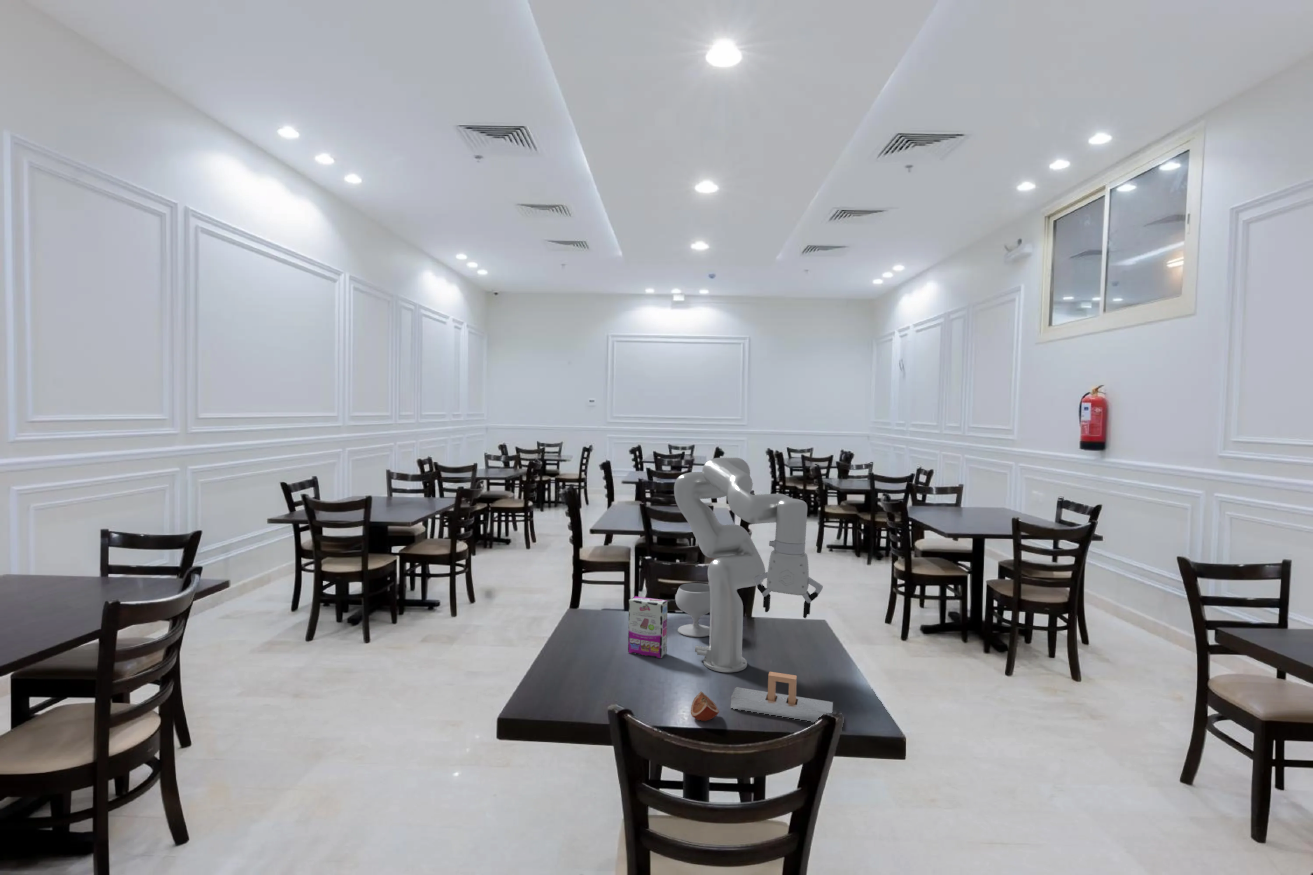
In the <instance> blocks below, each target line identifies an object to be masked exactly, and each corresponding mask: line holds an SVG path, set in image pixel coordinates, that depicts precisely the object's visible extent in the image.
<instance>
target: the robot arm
mask: <svg viewBox="0 0 1313 875" xmlns="http://www.w3.org/2000/svg"><path fill="white" fill-rule="evenodd" d="M753 484H754V483H753V479H752V478H751V468H750V466H749V464H748V463H747V461H745V459H743V458H740V457H714V458H711V459H709V460H708V461H706V462H705V463H704V465H703V466H702V470H701V471H691V472H686V473H683V474H681V475H679V476H678V477H676V479H675V482H674V484H673V485H674V486H673V494H674V498H675V499H674V500H675V503H676V505H677V507H678V509H679V510H680V513H681V514H682V515H683V517H684V518H685V520H686V521H687V523H688V524H689V526H690V529H691V531H692V533H693V536H694V537H695V541H696V543H697V544H698V547H699V549H700V550H701V553H702V554H703V555H704V556H705V557H707V558H711V559H712V561H711V562H710V563H709V565H708V567H707V579H708V585H709V587H710V612H709V627H710V635H709V640H708V642H709V644H708V645H706V646H701V645H695V647H694V652H695V653H696V656H704V657H703V665H704V666H705V667H706V668H708V669H709V670H712V671H715V672H720V673H737V672H742V671H744V670H745V669H746V668H747V666H748V662H747V661H748V660H747V659H745V657H743V627H744V626H743V625H744V624H743V623H744V622H743V620H744V605H743V600H742V598H741V597H740V595H739V593H738V590H740V589H743V588H749V587H750V588H751V587H756V588H757V589H758V590H759V592H760V593H761V595H762V597H763V601H762V607H763V608H764V612H765V613H768V612H769V611H770V608H771V592H773V593H778V594H786V595H794V596H801V597H802V598H803V600H804V602H803V613H802V614H803V615H802V616H803V618H804V619H807V618H808V615H810V614H811V605H812V604H811V602H813V601H814V600H815V599H817V598H818V597H819V594H821V592H822V590H823V586H824V585H823V584H821V583H819V582H818V581H816V580H814V578H812V577H811V576H810V573H809V571H810V569H809V558H808V553H805V552H806V536H807V534H806V533H807V521H808V520H807V517H808V516H807V515H808V504H807V502H805V501H804V500H802V499H798V498H793V497H790V496H789V495H786V494H783V493H762V494H761V493H760V494H752V493H751V492H752V489H753ZM724 497H726V500H727V503H728V507H729V509H730V510H731V512H732V513H733V514H734V515H735V516H737V517H738V518H740V519H742V520H743V521H744V522H747V523H748V524H751V525H757V524H770V523H773V524H774V523H775V534H774V535H775V536H774V537H775V538H774V540H769V543H768V545H769V547H772V548H773V550H771V551H770V556H769V559H768V560H769V561H768V565H767V566H768V567H767V571H766V567H765V564H764V561H763V559H762V557H761V554H760V553H759V551H758V549H757V547H756V545H755V543H754V542H753V539H752V538H751V536H750V534H749V532H748V531H747V530H746V529H745V527H743V526H741V525H739V524H735V523H734V524H722V523H720V522H719V520H718V518H717V516H716V514H715V512H714V511H713V509H712V508H711V507H710V506H708V505H707V504H706V503H704V502H703V501H702V500H708V499H709V500H710V499H720V498H724ZM765 580H766V587H765V586H764V584H763V582H764V581H765ZM809 585H810V586H812V588H814V589H815V590H814V591H813V592H812V593H810V592H809V591H808V589H809Z"/></svg>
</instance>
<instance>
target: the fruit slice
mask: <svg viewBox="0 0 1313 875" xmlns="http://www.w3.org/2000/svg"><path fill="white" fill-rule="evenodd" d="M719 713H720V709H719V708H718V706H717V705H716V704H715V703H714V700H712V699H711V698H710V697H709V696H707V695H706V693H704V692H702V691H699V693H698V694H697V695H696V696H695V697H694V698H693V701H692V703H691V707H690V715H691V716H692V718H694V719H695V720H697V721H700V720H701V722H707V721H710V720H712V719H714V718H715V717H717V715H718V714H719Z"/></svg>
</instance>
